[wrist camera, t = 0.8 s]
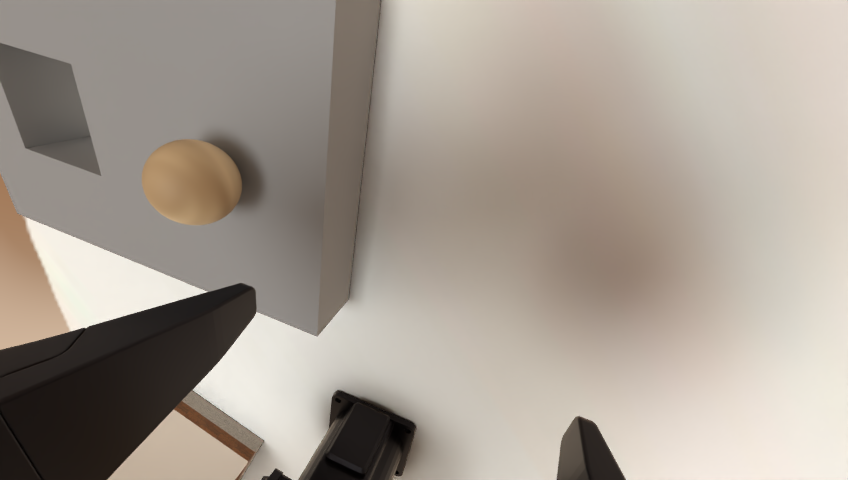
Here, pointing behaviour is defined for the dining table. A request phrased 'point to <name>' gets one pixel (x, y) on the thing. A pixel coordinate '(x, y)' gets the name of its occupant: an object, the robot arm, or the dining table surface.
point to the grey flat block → (196, 133)
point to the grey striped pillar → (192, 446)
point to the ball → (191, 182)
